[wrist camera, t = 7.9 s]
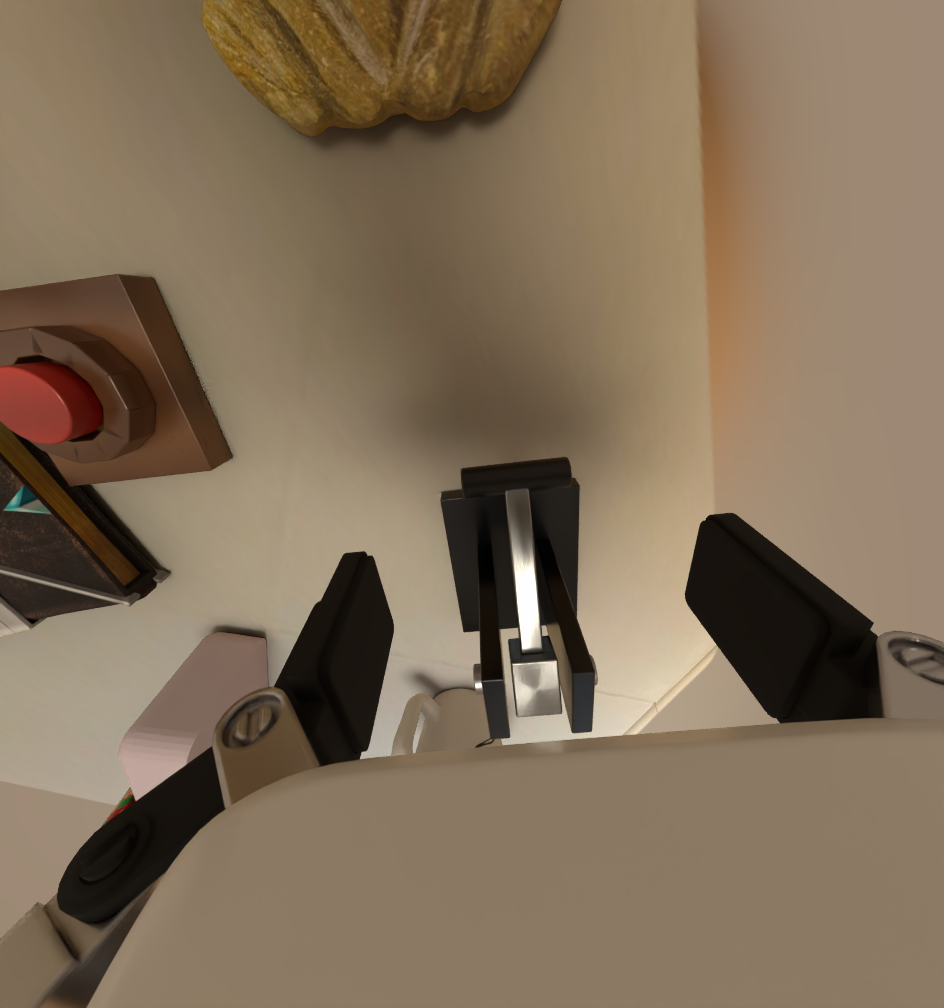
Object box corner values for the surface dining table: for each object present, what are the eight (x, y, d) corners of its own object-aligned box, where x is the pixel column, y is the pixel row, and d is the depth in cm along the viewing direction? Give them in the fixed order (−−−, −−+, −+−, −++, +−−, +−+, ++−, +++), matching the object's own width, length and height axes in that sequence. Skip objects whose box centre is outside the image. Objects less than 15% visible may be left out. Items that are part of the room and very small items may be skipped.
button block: (-7, 300, 20) (-112, 297, 16) (153, 277, 19) (81, 269, 16) (102, 472, 24) (38, 500, 21) (233, 457, 24) (191, 483, 20)
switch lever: (462, 467, 19) (458, 469, 16) (561, 456, 18) (573, 456, 16) (487, 688, 20) (487, 720, 18) (579, 681, 20) (592, 712, 17)
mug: (376, 688, 34) (343, 819, 25) (444, 648, 32) (434, 777, 23) (456, 743, 38) (452, 873, 30) (521, 711, 36) (538, 842, 27)
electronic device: (207, 621, 30) (98, 749, 21) (265, 630, 31) (182, 758, 22) (218, 697, 35) (132, 828, 26) (269, 704, 35) (202, 835, 26)
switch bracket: (441, 491, 25) (420, 621, 14) (575, 477, 24) (653, 601, 14) (463, 621, 30) (460, 783, 20) (573, 611, 30) (627, 772, 20)
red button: (6, 366, 18) (-39, 371, 16) (76, 356, 18) (38, 361, 16) (54, 438, 19) (18, 448, 18) (118, 430, 19) (87, 440, 18)
